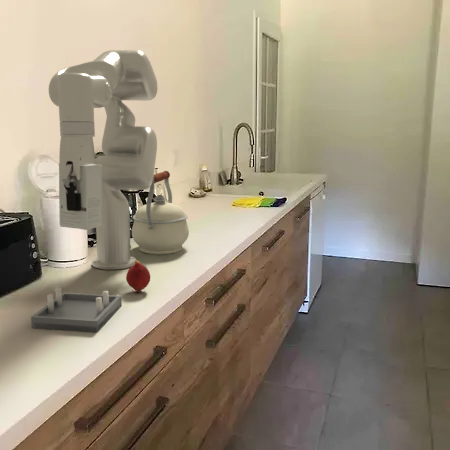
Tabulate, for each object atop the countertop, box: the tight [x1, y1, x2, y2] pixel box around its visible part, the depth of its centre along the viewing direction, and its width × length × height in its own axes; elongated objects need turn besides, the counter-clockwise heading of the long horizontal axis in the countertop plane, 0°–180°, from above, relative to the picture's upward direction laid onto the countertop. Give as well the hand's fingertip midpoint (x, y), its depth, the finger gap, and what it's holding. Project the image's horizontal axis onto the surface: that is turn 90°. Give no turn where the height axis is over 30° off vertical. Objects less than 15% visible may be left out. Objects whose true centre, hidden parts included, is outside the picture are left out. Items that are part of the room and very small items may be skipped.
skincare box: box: [58, 164, 102, 231], centre depth 119 cm, size 8×6×15 cm
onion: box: [125, 259, 151, 293], centre depth 127 cm, size 6×6×8 cm
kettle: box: [131, 170, 190, 255], centre depth 168 cm, size 25×18×25 cm
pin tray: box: [30, 287, 123, 333], centre depth 112 cm, size 15×14×5 cm
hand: (81, 207), depth 120 cm, fingers closed on skincare box, 7 cm apart
